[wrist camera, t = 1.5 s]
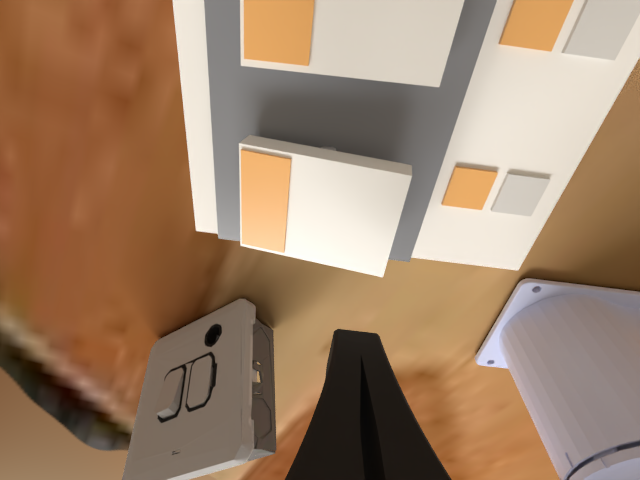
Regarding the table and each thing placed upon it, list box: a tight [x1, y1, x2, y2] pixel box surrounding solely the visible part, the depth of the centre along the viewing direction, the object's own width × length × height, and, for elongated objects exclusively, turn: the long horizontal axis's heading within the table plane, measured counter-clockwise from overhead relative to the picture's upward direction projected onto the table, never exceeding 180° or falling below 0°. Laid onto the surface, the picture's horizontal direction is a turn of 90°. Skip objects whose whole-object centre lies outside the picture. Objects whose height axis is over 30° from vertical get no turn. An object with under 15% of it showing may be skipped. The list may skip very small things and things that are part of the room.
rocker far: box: [239, 135, 412, 277], centre depth 13 cm, size 6×4×1 cm
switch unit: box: [173, 0, 640, 270], centre depth 14 cm, size 18×16×4 cm
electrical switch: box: [122, 299, 276, 480], centre depth 22 cm, size 9×5×9 cm, turn 124°
